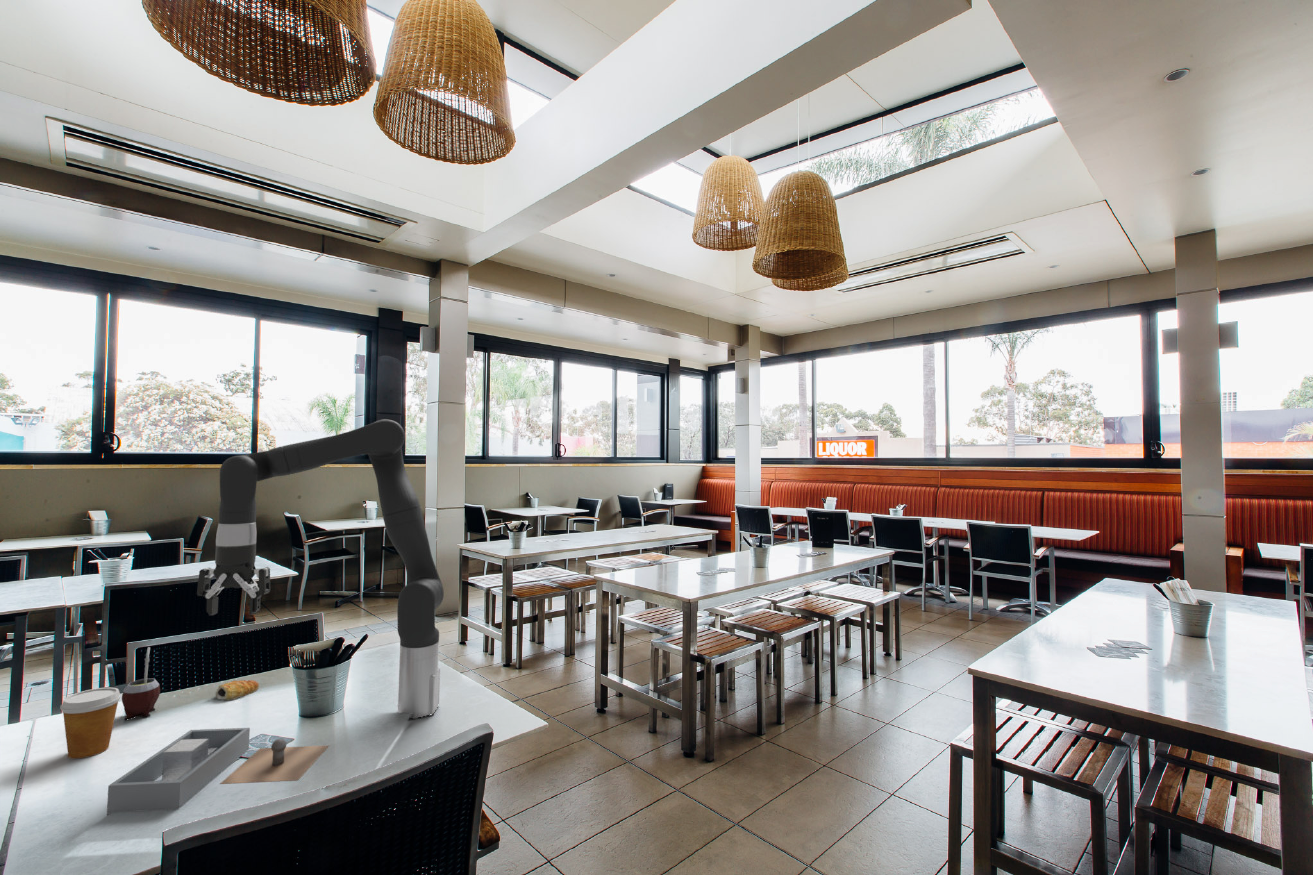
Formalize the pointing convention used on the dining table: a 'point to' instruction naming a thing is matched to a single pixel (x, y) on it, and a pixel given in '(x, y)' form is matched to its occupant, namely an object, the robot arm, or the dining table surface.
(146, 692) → the mate gourd
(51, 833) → the dining table surface
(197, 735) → the bin
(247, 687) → the pastry
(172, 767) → the strut
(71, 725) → the disposable coffee cup
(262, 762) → the stud base
